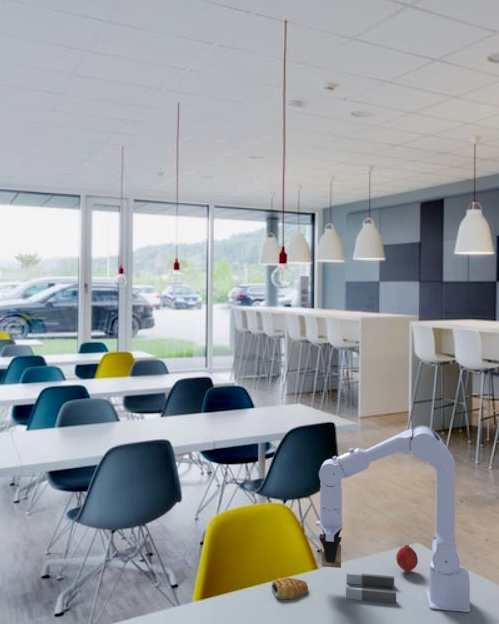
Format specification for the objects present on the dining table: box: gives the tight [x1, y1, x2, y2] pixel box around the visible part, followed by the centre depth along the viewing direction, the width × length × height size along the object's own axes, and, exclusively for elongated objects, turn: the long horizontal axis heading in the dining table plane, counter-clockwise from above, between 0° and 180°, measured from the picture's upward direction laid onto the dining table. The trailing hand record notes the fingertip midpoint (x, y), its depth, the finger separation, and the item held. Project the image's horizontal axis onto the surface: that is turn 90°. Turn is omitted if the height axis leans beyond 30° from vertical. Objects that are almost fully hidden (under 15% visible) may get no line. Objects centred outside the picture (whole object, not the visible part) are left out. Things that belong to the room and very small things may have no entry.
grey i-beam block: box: [345, 571, 397, 604], centre depth 151 cm, size 12×9×2 cm
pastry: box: [270, 576, 309, 600], centre depth 151 cm, size 9×7×4 cm
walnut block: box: [321, 543, 342, 569], centre depth 153 cm, size 5×5×4 cm
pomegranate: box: [395, 543, 419, 573], centre depth 162 cm, size 6×6×8 cm
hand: (331, 557), depth 153 cm, fingers closed on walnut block, 5 cm apart
